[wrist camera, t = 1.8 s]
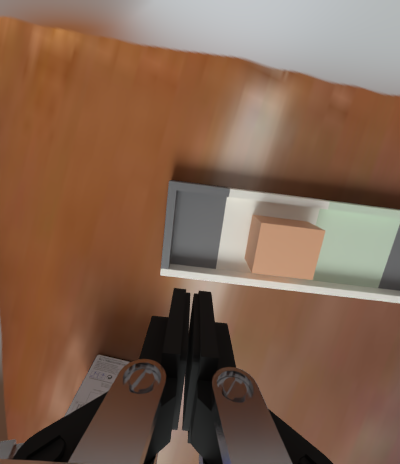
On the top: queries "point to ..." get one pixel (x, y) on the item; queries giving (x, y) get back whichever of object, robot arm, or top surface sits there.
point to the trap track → (287, 207)
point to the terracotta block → (283, 247)
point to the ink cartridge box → (97, 381)
